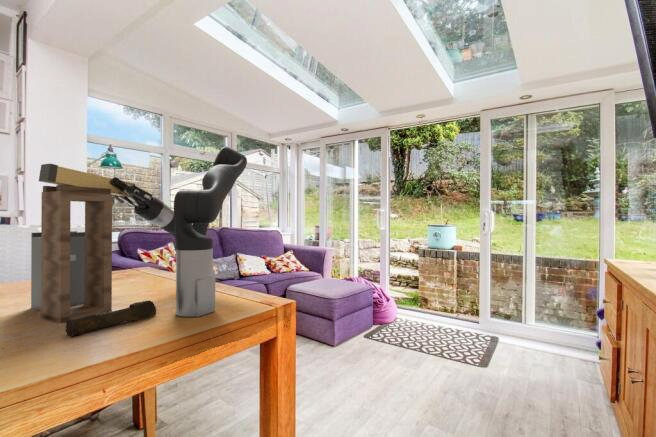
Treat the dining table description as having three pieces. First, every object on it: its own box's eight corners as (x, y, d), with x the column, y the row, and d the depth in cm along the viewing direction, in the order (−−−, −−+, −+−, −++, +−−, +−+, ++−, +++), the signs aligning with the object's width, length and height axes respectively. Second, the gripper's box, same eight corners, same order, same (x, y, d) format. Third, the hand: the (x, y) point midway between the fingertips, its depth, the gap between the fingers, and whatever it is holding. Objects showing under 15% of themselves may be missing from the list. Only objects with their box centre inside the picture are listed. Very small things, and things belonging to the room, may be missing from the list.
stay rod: (133, 196, 98) (135, 183, 98) (47, 180, 78) (50, 163, 79) (125, 197, 100) (126, 183, 100) (38, 181, 80) (41, 164, 81)
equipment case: (91, 302, 98) (91, 232, 98) (47, 312, 88) (47, 233, 88) (75, 299, 102) (75, 231, 101) (31, 308, 92) (31, 232, 92)
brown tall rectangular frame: (111, 310, 90) (112, 188, 90) (60, 323, 79) (61, 184, 79) (92, 306, 93) (92, 189, 93) (41, 318, 83) (41, 186, 83)
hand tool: (69, 340, 69) (69, 318, 69) (64, 336, 71) (64, 314, 71) (160, 318, 84) (160, 300, 84) (153, 315, 86) (153, 298, 86)
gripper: (145, 202, 111) (99, 171, 98) (175, 201, 105) (130, 168, 91) (135, 221, 108) (85, 191, 94) (164, 221, 101) (116, 190, 88)
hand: (107, 180), depth 93 cm, fingers closed on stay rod, 4 cm apart
